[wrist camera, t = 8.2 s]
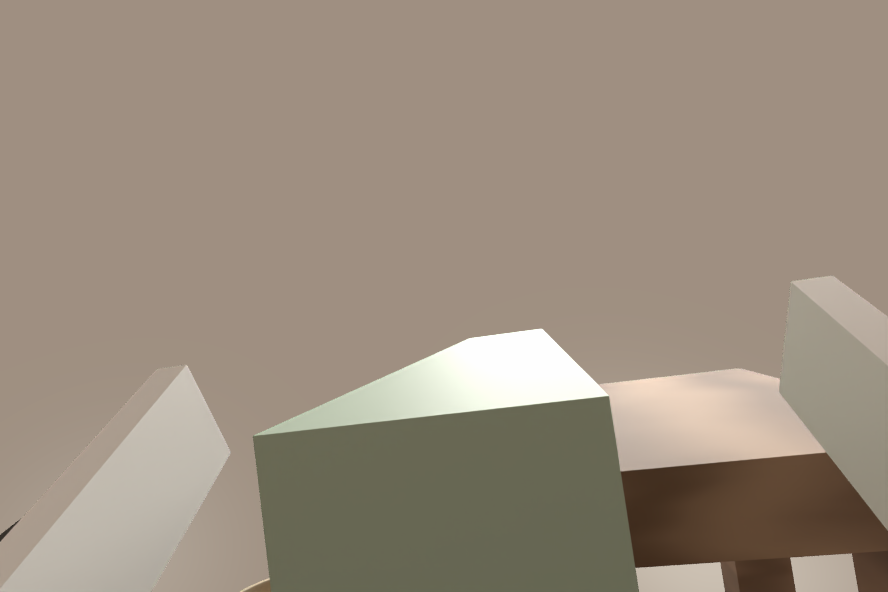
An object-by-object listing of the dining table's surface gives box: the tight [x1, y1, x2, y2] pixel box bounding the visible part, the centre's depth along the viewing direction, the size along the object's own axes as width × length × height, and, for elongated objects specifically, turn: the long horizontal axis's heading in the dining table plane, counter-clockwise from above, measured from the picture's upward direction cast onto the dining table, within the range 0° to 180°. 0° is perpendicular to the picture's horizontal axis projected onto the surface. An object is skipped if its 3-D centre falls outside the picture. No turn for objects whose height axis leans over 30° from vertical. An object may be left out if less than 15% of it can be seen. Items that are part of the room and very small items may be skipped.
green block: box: [253, 329, 639, 592], centre depth 18 cm, size 24×4×4 cm, turn 171°
